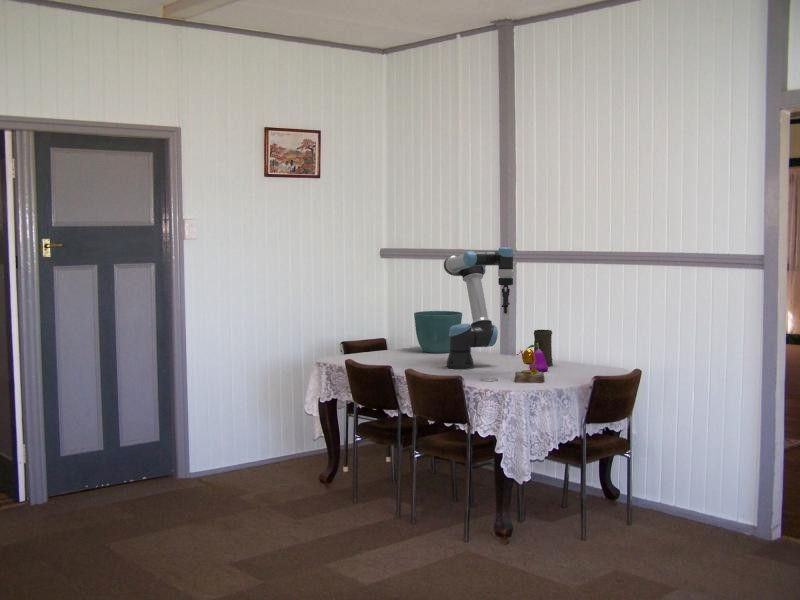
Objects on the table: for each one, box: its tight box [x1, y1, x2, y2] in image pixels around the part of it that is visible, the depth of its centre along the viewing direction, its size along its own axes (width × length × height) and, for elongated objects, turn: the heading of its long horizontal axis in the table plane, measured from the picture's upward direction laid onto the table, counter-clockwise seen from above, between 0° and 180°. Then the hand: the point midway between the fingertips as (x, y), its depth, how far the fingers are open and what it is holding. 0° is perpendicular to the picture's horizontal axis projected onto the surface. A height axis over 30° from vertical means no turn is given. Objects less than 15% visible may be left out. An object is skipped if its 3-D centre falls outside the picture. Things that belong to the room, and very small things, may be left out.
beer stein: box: [533, 329, 554, 368], centre depth 496 cm, size 15×11×20 cm
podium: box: [514, 371, 545, 384], centre depth 445 cm, size 14×14×3 cm
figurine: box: [516, 348, 539, 374], centre depth 446 cm, size 8×11×12 cm
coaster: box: [479, 377, 499, 383], centre depth 445 cm, size 9×9×1 cm
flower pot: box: [413, 310, 463, 354], centre depth 558 cm, size 30×30×24 cm
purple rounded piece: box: [525, 343, 549, 372], centre depth 475 cm, size 11×11×15 cm
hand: (505, 318), depth 463 cm, fingers open, 13 cm apart
